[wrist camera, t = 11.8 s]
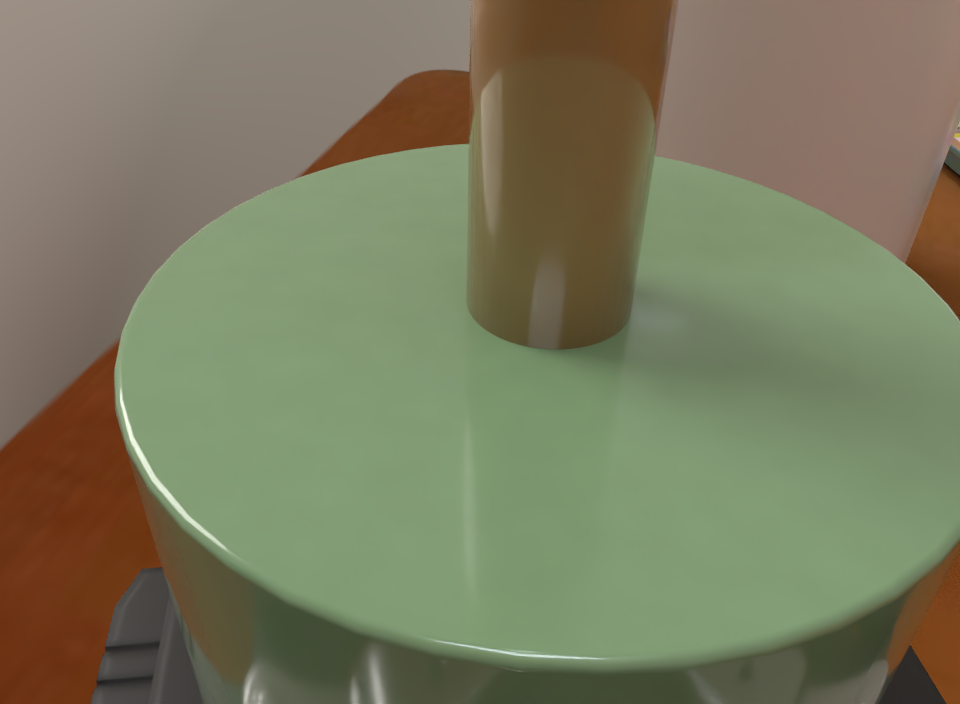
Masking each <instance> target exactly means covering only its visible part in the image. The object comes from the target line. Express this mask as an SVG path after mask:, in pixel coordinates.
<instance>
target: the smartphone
mask: <svg viewBox="0 0 960 704" xmlns="http://www.w3.org/2000/svg"><path fill="white" fill-rule="evenodd" d="M944 162H945V163H946V164H947V165H948V166H949V167H950V168H952V169H953V170H954V171H955V172H956V173H958V174H959V175H960V128H957V130H956V132H955V135H954V137H953V140H952V143H951V145H950V148H949V151H948V153H947V156H946V158H945V161H944Z"/></svg>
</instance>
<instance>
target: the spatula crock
mask: <svg viewBox="0 0 960 704" xmlns="http://www.w3.org/2000/svg"><path fill="white" fill-rule="evenodd" d="M678 2H679V0H471V11H470V15H471V16H470V78H469V144H461V145H446V146H438V147H430V148H422V149H414V150H406V151H401V152H396V153H390V154H385V155H379V156H374V157H369V158H365V159H361V160H357V161H353V162H349V163H345V164H341V165H337V166H333V167H330V168H327V169H324V170H321V171H318V172H315V173H312V174H309V175H305V176H302V177H299V178H297V179H295V180H292V181H290V182H287V183H285V184H282V185H280V186H278V187H275V188H272V189H270V190H268V191H265V192H264V193H262V194H260V195H258V196H256V197H254V198H252V199H250V200H248V201H246V202H244V203H242V204H240V205H238V206H236V207H234V208H233V209H231V210H229V211H228V212H226V213H225V214H223V215H222V216H220V217H219V218H217V219H215V220H214V221H212V222H211V223H209V224H208V225H206V226H205V227H203V228H202V229H201V230H200V231H198V232H197V233H196V234H195V235H194V236H192V237H191V238H190V239H189V240H187V241H186V242H185V243H184V244H182V245H181V246H180V247H179V248H178V249H177V250H176V251H175V252H174V253H173V254H172V255H171V256H170V257H169V258H168V259H167V260H166V261H165V262H164V264H163V265H162V266H161V267H160V268H159V269H158V270H157V271H156V272H155V273H154V275H153V276H152V278H151V279H150V280H149V282H148V283H147V285H146V286H145V288H144V289H143V291H142V293H141V294H140V295H139V297H138V298H137V300H136V301H135V304H134V306H133V308H132V311H131V313H130V315H129V317H128V320H127V322H126V325H125V327H124V329H123V331H122V335H121V339H120V344H119V349H118V354H117V359H116V364H115V369H114V391H115V411H116V414H117V418H118V422H119V425H120V429H121V433H122V436H123V440H124V444H125V447H126V451H127V454H128V457H129V460H130V464H131V467H132V470H133V474H134V477H135V480H136V483H137V487H138V490H139V493H140V497H141V500H142V503H143V506H144V510H145V513H146V516H147V520H148V523H149V526H150V529H151V533H152V536H153V539H154V543H155V546H156V549H157V552H158V556H159V559H160V562H161V566H162V569H163V572H164V575H165V579H166V582H167V585H168V588H169V592H170V595H171V598H172V602H173V605H174V608H175V611H176V615H177V618H178V621H179V625H180V628H181V631H182V634H183V638H184V641H185V644H186V648H187V651H188V654H189V657H190V661H191V664H192V667H193V671H194V674H195V677H196V680H197V684H198V687H199V690H200V694H201V697H202V700H203V703H204V704H879V702H880V700H881V698H882V696H883V695H884V693H885V691H886V689H887V687H888V685H889V683H890V681H891V680H892V678H893V676H894V674H895V672H896V670H897V668H898V666H899V665H900V663H901V661H902V659H903V657H904V655H905V653H906V651H907V650H908V648H909V646H910V644H911V642H912V640H913V638H914V636H915V635H916V633H917V631H918V629H919V627H920V625H921V623H922V621H923V620H924V618H925V616H926V614H927V612H928V610H929V608H930V606H931V605H932V603H933V601H934V599H935V597H936V595H937V593H938V592H939V590H940V588H941V586H942V584H943V582H944V580H945V578H946V577H947V575H948V573H949V571H950V569H951V567H952V565H953V563H954V562H955V560H956V558H957V556H958V554H959V552H960V320H959V319H958V317H957V316H956V315H955V313H954V312H953V310H952V309H951V308H950V306H949V305H948V304H947V303H946V302H945V301H944V300H943V299H942V298H941V297H940V296H939V295H938V294H937V293H936V292H935V291H934V290H933V289H932V288H931V287H930V285H929V284H928V283H927V282H926V281H925V280H924V279H923V278H922V277H920V276H919V275H918V274H917V273H916V272H914V271H913V270H912V269H911V268H910V267H908V266H907V265H906V264H905V263H903V262H902V261H901V260H900V259H899V258H897V257H896V256H895V255H894V254H892V253H891V252H890V251H888V250H887V249H885V248H884V247H882V246H881V245H879V244H878V243H876V242H875V241H873V240H872V239H870V238H869V237H867V236H866V235H864V234H863V233H861V232H860V231H858V230H856V229H854V228H853V227H851V226H849V225H847V224H845V223H844V222H842V221H840V220H838V219H836V218H835V217H833V216H831V215H829V214H827V213H826V212H823V211H821V210H819V209H817V208H815V207H813V206H810V205H808V204H806V203H804V202H802V201H800V200H798V199H795V198H793V197H791V196H789V195H786V194H784V193H781V192H778V191H776V190H773V189H770V188H768V187H765V186H763V185H760V184H757V183H755V182H752V181H749V180H746V179H743V178H739V177H736V176H733V175H730V174H727V173H724V172H720V171H717V170H714V169H710V168H706V167H702V166H698V165H694V164H690V163H686V162H682V161H678V160H673V159H668V158H663V157H658V156H655V153H656V146H657V140H658V133H659V127H660V120H661V114H662V107H663V100H664V94H665V87H666V81H667V74H668V68H669V61H670V54H671V48H672V41H673V35H674V28H675V22H676V15H677V9H678Z"/></svg>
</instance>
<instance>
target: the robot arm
mask: <svg viewBox="0 0 960 704" xmlns="http://www.w3.org/2000/svg"><path fill="white" fill-rule="evenodd" d="M96 681H97V688H96V689H94V692H93V696H92V700H91V704H204V703H203V700H202V697H201V694H200V690H199V687H198V684H197V680H196V677H195V674H194V671H193V667H192V664H191V661H190V657H189V654H188V651H187V648H186V644H185V641H184V638H183V634H182V631H181V628H180V625H179V621H178V618H177V615H176V611H175V608H174V605H173V602H172V598H171V595H170V592H169V588H168V585H167V582H166V579H165V575H164V572H163V569H162V567H160V568H148V569H142V570H141V571H140V573H139V574H138V575H137V577H136V578H135V580H134V581H133V582H132V584H131V585H130V586H129V588H128V589H127V591H126V592H125V593H124V595H123V596H122V598H121V599H120V600H119V602H118V603H117V604H116V606H115V610H114V614H113V617H112V621H111V625H110V629H109V633H108V637H107V641H106V645H105V655H103V657H102V661H101V665H100V668H99V672H98V676H97V680H96ZM879 704H946V703H945V701H944V699H943V698H942V696H941V694H940V693H939V691H938V690H937V688H936V686H935V685H934V683H933V681H932V680H931V678H930V677H929V675H928V673H927V672H926V670H925V668H924V667H923V665H922V664H921V662H920V660H919V659H918V657H917V655H916V654H915V652H914V650H913V649H912V647H911V646H909V648H908V650H907V651H906V653H905V655H904V657H903V659H902V661H901V663H900V665H899V666H898V668H897V670H896V672H895V674H894V676H893V678H892V680H891V681H890V683H889V685H888V687H887V689H886V691H885V693H884V695H883V696H882V698H881V700H880V702H879Z"/></svg>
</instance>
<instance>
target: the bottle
mask: <svg viewBox="0 0 960 704" xmlns="http://www.w3.org/2000/svg"><path fill="white" fill-rule="evenodd" d="M959 122H960V0H679V2H678V9H677V15H676V22H675V28H674V35H673V41H672V48H671V54H670V61H669V68H668V74H667V81H666V87H665V94H664V100H663V107H662V114H661V120H660V127H659V133H658V140H657V146H656V153H655V156H658V157H663V158H668V159H673V160H678V161H682V162H686V163H690V164H694V165H698V166H702V167H706V168H710V169H714V170H717V171H720V172H724V173H727V174H730V175H733V176H736V177H739V178H743V179H746V180H749V181H752V182H755V183H757V184H760V185H763V186H765V187H768V188H770V189H773V190H776V191H778V192H781V193H784V194H786V195H789V196H791V197H793V198H795V199H798V200H800V201H802V202H804V203H806V204H808V205H810V206H813V207H815V208H817V209H819V210H821V211H823V212H826V213H827V214H829V215H831V216H833V217H835V218H836V219H838V220H840V221H842V222H844V223H845V224H847V225H849V226H851V227H853V228H854V229H856V230H858V231H860V232H861V233H863V234H864V235H866V236H867V237H869V238H870V239H872V240H873V241H875V242H876V243H878V244H879V245H881V246H882V247H884V248H885V249H887V250H888V251H890V252H891V253H892V254H894V255H895V256H896V257H897V258H899V259H900V260H901V261H902V262H903V263H906V260H907V258H908V255H909V252H910V250H911V247H912V244H913V242H914V239H915V236H916V234H917V231H918V229H919V226H920V223H921V221H922V218H923V216H924V213H925V210H926V208H927V205H928V203H929V200H930V197H931V195H932V192H933V190H934V187H935V184H936V182H937V179H938V177H939V174H940V171H941V169H942V166H943V164H944V161H945V158H946V156H947V153H948V151H949V148H950V145H951V143H952V140H953V137H954V135H955V132H956V130H957V127H958V124H959Z"/></svg>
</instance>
